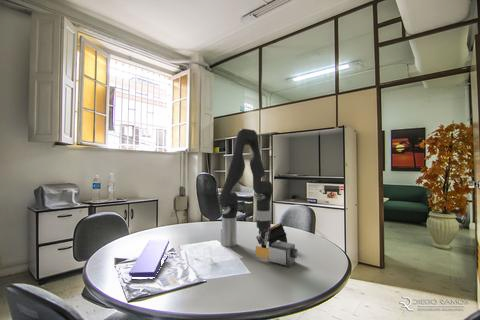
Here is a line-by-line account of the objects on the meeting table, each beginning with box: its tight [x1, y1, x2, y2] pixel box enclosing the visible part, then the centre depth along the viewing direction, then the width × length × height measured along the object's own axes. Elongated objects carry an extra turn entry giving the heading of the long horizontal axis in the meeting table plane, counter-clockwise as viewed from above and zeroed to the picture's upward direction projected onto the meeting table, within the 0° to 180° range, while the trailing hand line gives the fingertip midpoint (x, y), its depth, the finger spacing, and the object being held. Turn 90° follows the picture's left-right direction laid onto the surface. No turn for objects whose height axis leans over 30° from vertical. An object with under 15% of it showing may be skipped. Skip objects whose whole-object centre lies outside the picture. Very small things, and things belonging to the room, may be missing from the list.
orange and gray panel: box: [255, 245, 291, 268], centre depth 118 cm, size 19×1×8 cm, turn 56°
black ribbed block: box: [267, 222, 288, 248], centre depth 139 cm, size 4×13×15 cm, turn 91°
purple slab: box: [128, 239, 170, 278], centre depth 115 cm, size 12×28×10 cm, turn 5°
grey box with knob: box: [271, 241, 299, 267], centre depth 119 cm, size 12×7×10 cm, turn 53°
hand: (263, 251), depth 124 cm, fingers closed
